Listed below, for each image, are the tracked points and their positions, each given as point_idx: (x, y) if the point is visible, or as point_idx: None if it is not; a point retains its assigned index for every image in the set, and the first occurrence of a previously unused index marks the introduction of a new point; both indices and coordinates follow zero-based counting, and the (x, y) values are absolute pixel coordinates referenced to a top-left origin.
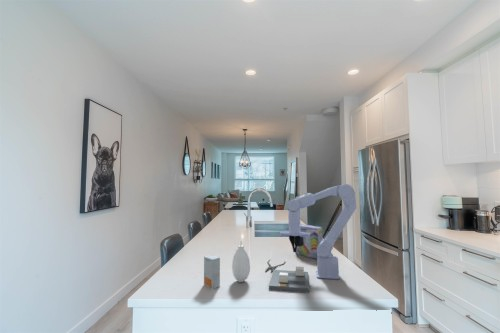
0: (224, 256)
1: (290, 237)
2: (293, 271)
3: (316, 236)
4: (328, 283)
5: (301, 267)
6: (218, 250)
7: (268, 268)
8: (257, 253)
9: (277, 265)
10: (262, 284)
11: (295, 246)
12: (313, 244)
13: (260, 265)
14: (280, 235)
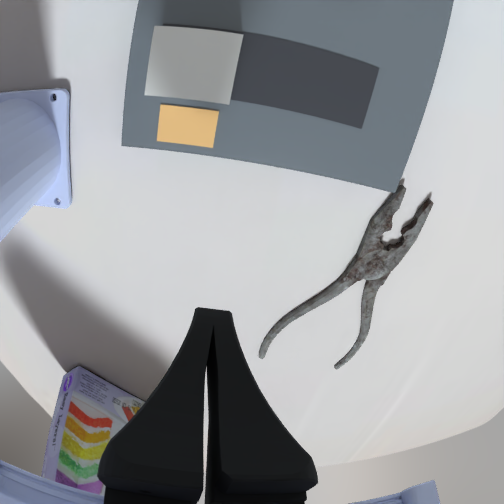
0: (486, 366)
1: (282, 498)
2: (243, 149)
3: (64, 474)
4: (23, 13)
5: (170, 73)
6: (470, 402)
7: (399, 248)
8: (362, 413)
9: (326, 299)
10: (480, 7)
11: (198, 364)
12: (93, 440)
13: (414, 301)
14: (428, 494)
